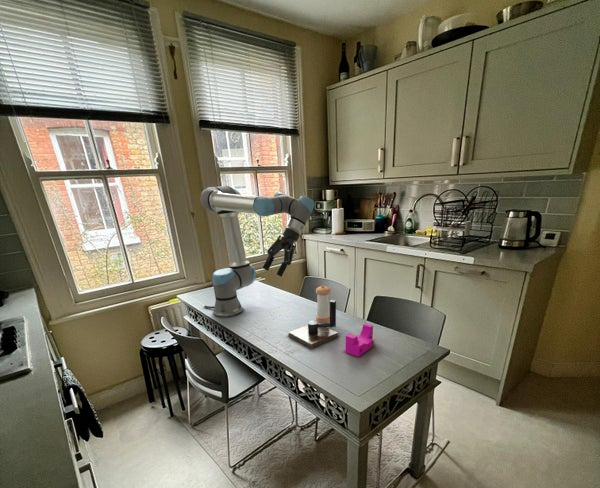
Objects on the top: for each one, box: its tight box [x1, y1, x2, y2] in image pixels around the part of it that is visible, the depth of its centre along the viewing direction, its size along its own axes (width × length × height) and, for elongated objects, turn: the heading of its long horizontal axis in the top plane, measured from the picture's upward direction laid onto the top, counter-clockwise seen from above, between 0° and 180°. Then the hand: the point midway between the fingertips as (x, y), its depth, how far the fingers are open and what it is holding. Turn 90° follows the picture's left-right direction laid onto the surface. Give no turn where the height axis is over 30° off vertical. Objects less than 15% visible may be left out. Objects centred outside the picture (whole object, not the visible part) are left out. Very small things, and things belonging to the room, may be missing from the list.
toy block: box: [344, 322, 374, 357], centre depth 132 cm, size 15×6×8 cm, turn 138°
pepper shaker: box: [315, 284, 331, 323], centre depth 154 cm, size 7×7×19 cm
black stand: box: [307, 299, 337, 334], centre depth 141 cm, size 13×4×15 cm, turn 89°
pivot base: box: [288, 324, 339, 349], centre depth 144 cm, size 16×16×2 cm
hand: (272, 272), depth 146 cm, fingers open, 13 cm apart
